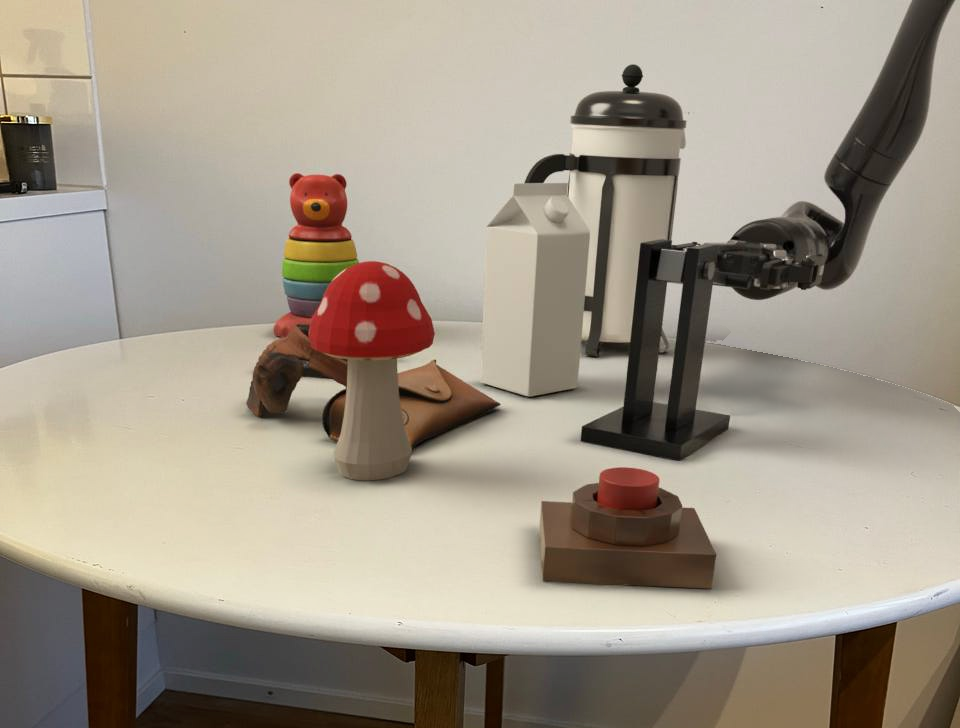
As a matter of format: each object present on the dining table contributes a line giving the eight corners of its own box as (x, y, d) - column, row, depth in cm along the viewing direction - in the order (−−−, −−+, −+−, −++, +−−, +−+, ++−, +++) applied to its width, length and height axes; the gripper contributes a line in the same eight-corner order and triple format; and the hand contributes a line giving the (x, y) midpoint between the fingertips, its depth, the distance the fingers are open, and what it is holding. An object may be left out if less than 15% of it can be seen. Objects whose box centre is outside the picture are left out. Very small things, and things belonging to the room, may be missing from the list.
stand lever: (694, 290, 95) (699, 262, 94) (748, 296, 93) (754, 268, 92) (638, 277, 83) (643, 246, 83) (698, 284, 81) (704, 253, 80)
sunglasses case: (410, 449, 81) (373, 371, 79) (346, 480, 85) (310, 405, 83) (505, 403, 95) (475, 336, 94) (447, 431, 99) (418, 367, 98)
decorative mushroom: (381, 497, 72) (380, 275, 65) (287, 474, 76) (276, 261, 69) (455, 463, 80) (461, 261, 73) (366, 443, 84) (363, 250, 77)
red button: (652, 495, 64) (655, 468, 63) (660, 515, 60) (663, 487, 60) (594, 492, 64) (597, 465, 63) (599, 512, 60) (602, 484, 60)
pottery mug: (264, 398, 97) (305, 322, 95) (343, 453, 96) (387, 377, 94) (203, 393, 86) (248, 306, 83) (293, 456, 85) (341, 370, 83)
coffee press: (564, 329, 133) (584, 66, 119) (683, 343, 127) (718, 69, 113) (510, 351, 119) (524, 57, 105) (640, 368, 113) (674, 59, 99)
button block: (690, 539, 67) (698, 481, 65) (711, 589, 60) (721, 525, 58) (539, 532, 67) (543, 474, 65) (542, 581, 60) (547, 517, 58)
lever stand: (636, 412, 96) (656, 233, 89) (728, 429, 92) (756, 243, 85) (580, 441, 87) (597, 243, 80) (679, 460, 83) (706, 255, 76)
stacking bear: (270, 337, 121) (261, 173, 113) (287, 322, 130) (280, 169, 122) (360, 341, 121) (358, 177, 112) (371, 326, 130) (370, 173, 121)
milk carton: (479, 384, 104) (487, 180, 95) (528, 375, 108) (540, 180, 99) (528, 398, 99) (541, 186, 90) (577, 389, 104) (594, 185, 95)
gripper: (711, 212, 106) (650, 220, 93) (850, 223, 99) (805, 234, 87) (701, 287, 109) (641, 305, 97) (835, 303, 103) (789, 324, 90)
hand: (719, 271), depth 92 cm, fingers open, 8 cm apart
